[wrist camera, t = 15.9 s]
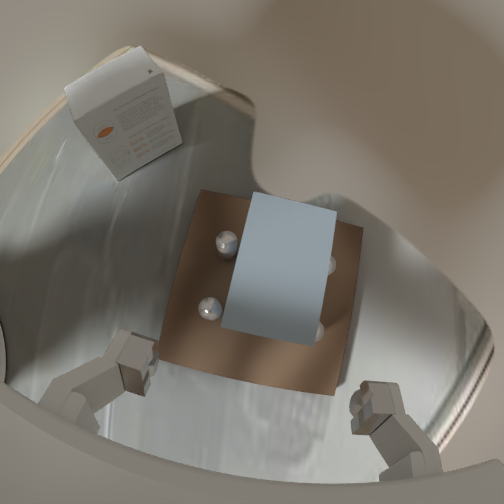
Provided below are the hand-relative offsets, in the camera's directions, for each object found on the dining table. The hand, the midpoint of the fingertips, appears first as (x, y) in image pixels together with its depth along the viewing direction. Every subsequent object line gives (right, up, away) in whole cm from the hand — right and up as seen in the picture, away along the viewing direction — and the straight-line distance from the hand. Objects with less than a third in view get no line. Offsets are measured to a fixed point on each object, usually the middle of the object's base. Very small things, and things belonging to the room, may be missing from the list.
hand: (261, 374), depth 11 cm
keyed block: (+1, +1, +13) cm, 14 cm away
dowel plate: (+1, +1, +15) cm, 15 cm away
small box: (-12, +16, +18) cm, 27 cm away
